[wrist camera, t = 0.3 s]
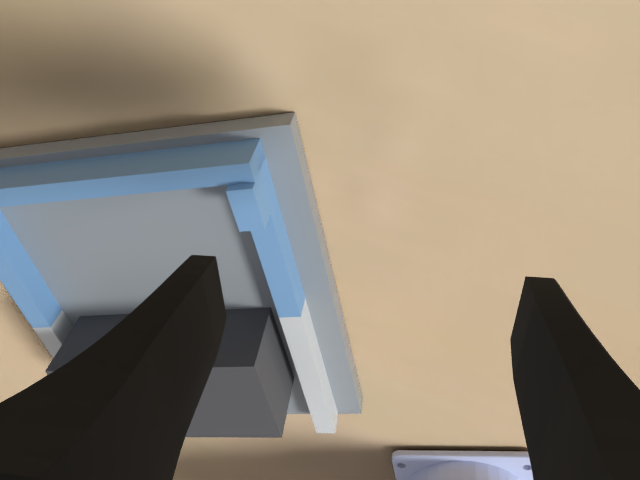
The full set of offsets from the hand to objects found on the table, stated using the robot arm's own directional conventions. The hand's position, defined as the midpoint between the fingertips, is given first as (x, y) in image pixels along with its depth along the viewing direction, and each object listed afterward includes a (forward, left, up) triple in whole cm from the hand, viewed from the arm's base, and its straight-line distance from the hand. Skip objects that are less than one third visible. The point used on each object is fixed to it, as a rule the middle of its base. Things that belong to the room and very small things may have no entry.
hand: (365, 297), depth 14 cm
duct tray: (-8, +11, -10) cm, 17 cm away
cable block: (-11, +11, -9) cm, 18 cm away
